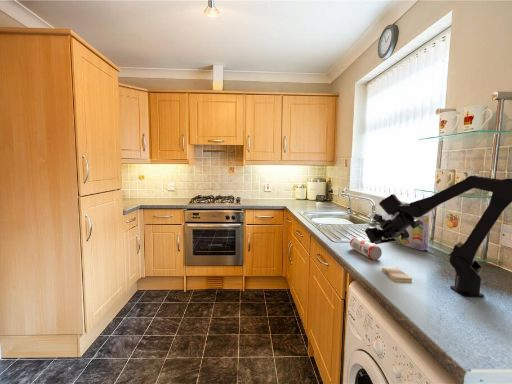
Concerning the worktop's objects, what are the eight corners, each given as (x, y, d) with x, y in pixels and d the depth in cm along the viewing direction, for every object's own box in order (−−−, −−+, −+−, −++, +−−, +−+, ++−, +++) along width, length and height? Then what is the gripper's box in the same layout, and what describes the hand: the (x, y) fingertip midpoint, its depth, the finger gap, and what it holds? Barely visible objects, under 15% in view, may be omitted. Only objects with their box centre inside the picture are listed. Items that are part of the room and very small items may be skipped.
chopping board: (411, 281, 94) (412, 278, 94) (394, 281, 94) (395, 278, 94) (397, 270, 104) (397, 267, 104) (381, 270, 104) (382, 267, 104)
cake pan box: (387, 240, 144) (389, 209, 142) (394, 239, 146) (396, 208, 144) (421, 251, 127) (424, 215, 125) (428, 250, 129) (431, 215, 127)
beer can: (369, 260, 113) (347, 248, 128) (381, 261, 115) (358, 249, 130) (372, 246, 113) (350, 236, 128) (384, 247, 114) (360, 237, 130)
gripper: (405, 206, 110) (383, 225, 121) (369, 208, 104) (349, 228, 115) (421, 229, 103) (395, 247, 115) (383, 232, 97) (361, 251, 109)
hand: (375, 243), depth 114 cm, fingers closed
